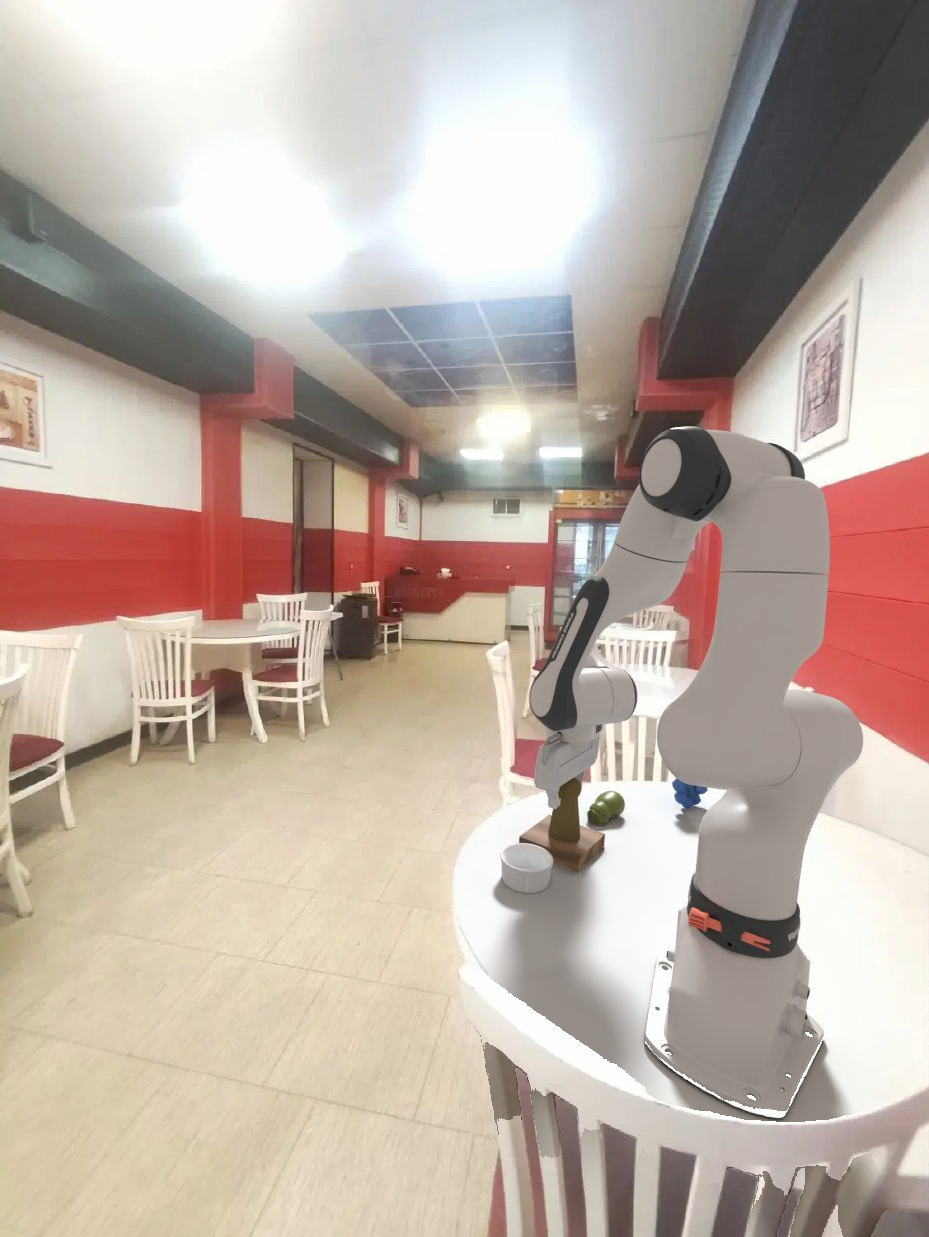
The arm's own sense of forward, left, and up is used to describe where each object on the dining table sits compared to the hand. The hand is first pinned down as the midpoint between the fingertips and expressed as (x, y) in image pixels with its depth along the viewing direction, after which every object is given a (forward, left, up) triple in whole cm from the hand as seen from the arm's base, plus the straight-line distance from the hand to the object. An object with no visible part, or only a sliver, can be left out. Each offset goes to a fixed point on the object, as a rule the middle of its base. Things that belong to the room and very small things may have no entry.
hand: (565, 799), depth 102 cm
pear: (+18, -1, -10) cm, 21 cm away
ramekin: (-14, 0, -10) cm, 17 cm away
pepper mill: (+1, 0, -7) cm, 7 cm away
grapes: (+35, -15, -10) cm, 39 cm away
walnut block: (0, 0, -10) cm, 10 cm away
